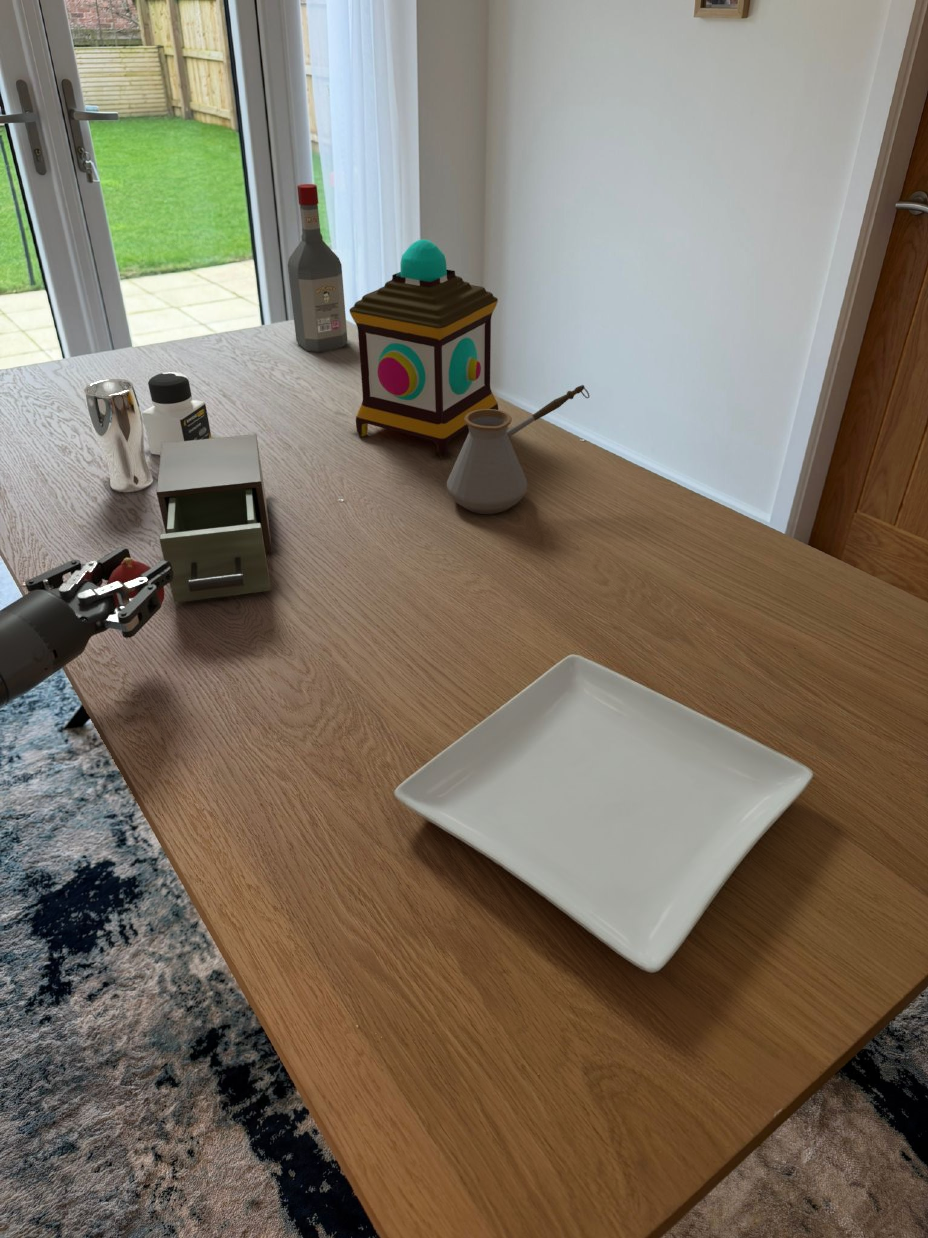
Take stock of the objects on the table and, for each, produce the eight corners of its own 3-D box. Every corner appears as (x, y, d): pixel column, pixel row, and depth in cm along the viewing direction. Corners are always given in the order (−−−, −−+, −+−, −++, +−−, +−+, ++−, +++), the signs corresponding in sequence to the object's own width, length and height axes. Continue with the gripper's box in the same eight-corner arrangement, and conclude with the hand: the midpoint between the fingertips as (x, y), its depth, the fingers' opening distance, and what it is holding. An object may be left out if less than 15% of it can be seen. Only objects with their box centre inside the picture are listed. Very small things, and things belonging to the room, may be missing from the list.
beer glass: (98, 491, 132) (72, 394, 123) (123, 471, 137) (100, 376, 128) (141, 496, 130) (117, 398, 122) (165, 476, 136) (143, 380, 127)
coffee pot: (467, 528, 122) (467, 425, 114) (434, 493, 131) (431, 395, 122) (600, 497, 130) (610, 398, 121) (560, 465, 138) (567, 371, 129)
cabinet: (272, 554, 117) (261, 481, 111) (173, 566, 115) (156, 492, 109) (266, 502, 129) (256, 433, 123) (176, 512, 126) (161, 443, 120)
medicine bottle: (189, 460, 140) (174, 387, 133) (150, 454, 142) (133, 381, 135) (213, 442, 146) (200, 370, 139) (175, 436, 147) (161, 365, 140)
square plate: (810, 797, 82) (819, 767, 80) (648, 1005, 65) (655, 975, 63) (570, 673, 97) (573, 645, 94) (389, 818, 80) (387, 787, 78)
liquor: (351, 347, 183) (339, 187, 165) (310, 355, 179) (292, 192, 162) (334, 335, 189) (320, 179, 172) (293, 342, 186) (275, 184, 168)
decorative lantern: (446, 465, 138) (442, 263, 121) (344, 438, 147) (327, 245, 129) (509, 421, 152) (514, 233, 135) (413, 398, 161) (406, 218, 143)
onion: (113, 611, 99) (96, 548, 94) (167, 600, 100) (153, 538, 96) (116, 640, 94) (98, 576, 90) (172, 629, 96) (158, 565, 91)
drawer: (273, 614, 104) (263, 550, 99) (172, 628, 102) (157, 562, 97) (265, 535, 119) (256, 476, 114) (177, 546, 117) (163, 485, 112)
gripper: (-21, 657, 88) (106, 574, 100) (86, 700, 83) (207, 607, 95) (-46, 594, 84) (90, 515, 96) (65, 635, 78) (195, 547, 91)
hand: (148, 561), depth 96 cm, fingers closed on onion, 5 cm apart
